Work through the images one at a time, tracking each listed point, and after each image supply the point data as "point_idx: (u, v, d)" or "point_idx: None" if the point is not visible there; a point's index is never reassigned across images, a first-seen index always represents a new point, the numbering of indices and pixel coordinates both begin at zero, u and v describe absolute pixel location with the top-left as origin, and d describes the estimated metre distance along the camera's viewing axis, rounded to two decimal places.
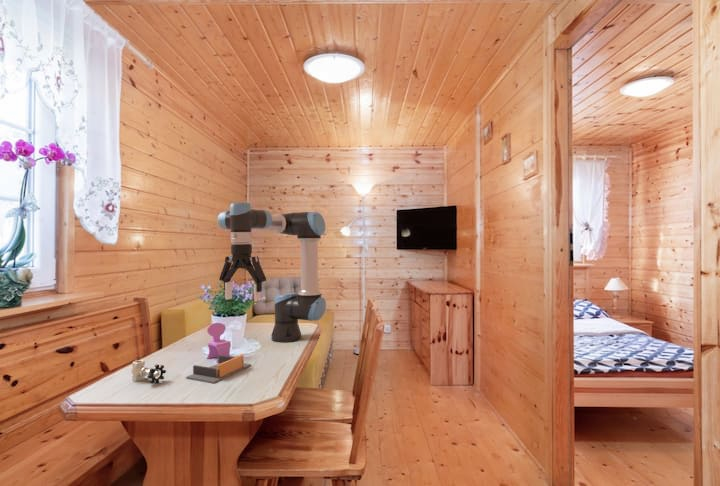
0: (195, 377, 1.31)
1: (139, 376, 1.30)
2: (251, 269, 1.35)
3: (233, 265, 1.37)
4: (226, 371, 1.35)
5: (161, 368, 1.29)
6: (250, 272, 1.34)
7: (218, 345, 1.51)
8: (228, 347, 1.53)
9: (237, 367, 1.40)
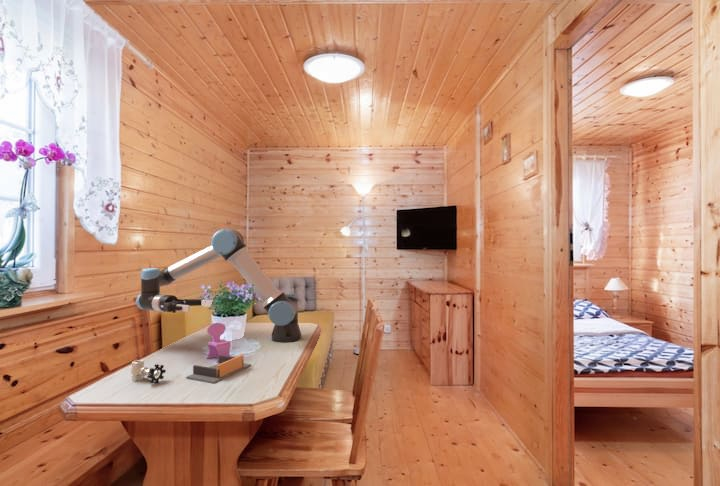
0: (195, 377, 1.31)
1: (139, 376, 1.30)
2: None
3: None
4: (226, 371, 1.35)
5: (161, 368, 1.29)
6: None
7: (218, 345, 1.51)
8: (228, 347, 1.53)
9: (237, 367, 1.40)
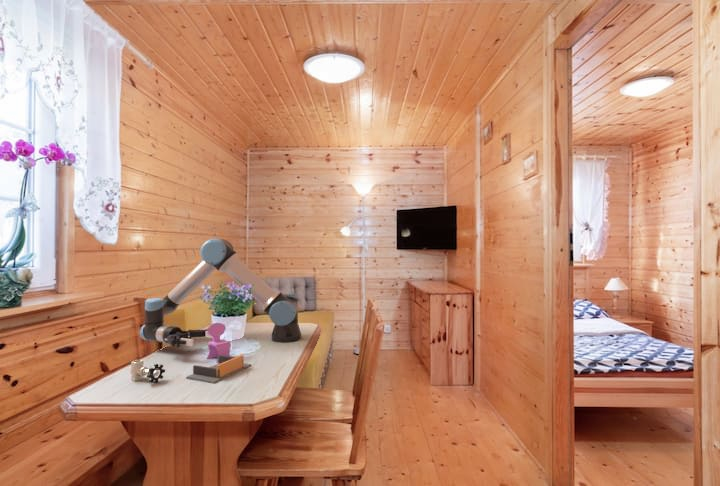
0: (195, 377, 1.31)
1: (138, 376, 1.31)
2: None
3: (187, 338, 1.64)
4: (226, 371, 1.35)
5: (160, 367, 1.30)
6: None
7: (218, 345, 1.51)
8: (228, 347, 1.53)
9: (237, 367, 1.40)
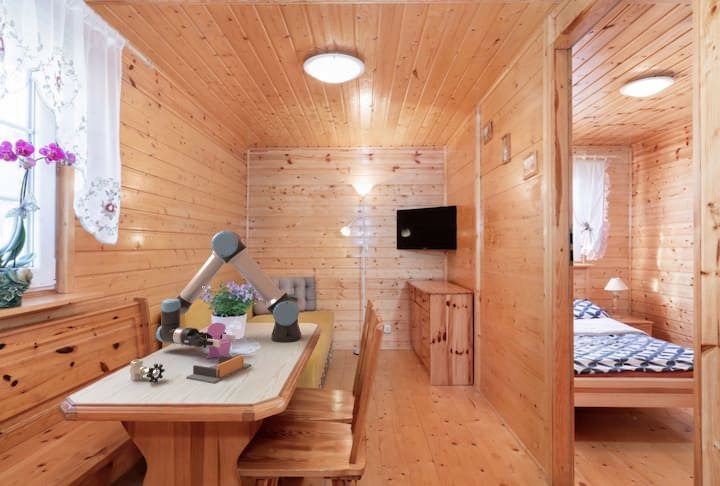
0: (195, 377, 1.31)
1: (137, 375, 1.31)
2: None
3: None
4: (226, 371, 1.35)
5: (160, 367, 1.30)
6: None
7: None
8: (228, 347, 1.54)
9: (237, 367, 1.40)
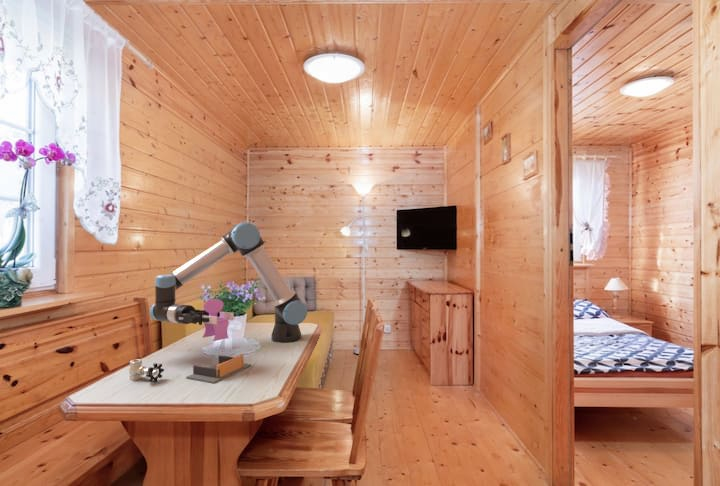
0: (195, 377, 1.31)
1: (137, 375, 1.31)
2: None
3: None
4: (226, 371, 1.35)
5: (159, 367, 1.30)
6: None
7: None
8: (226, 325, 1.41)
9: (237, 367, 1.40)
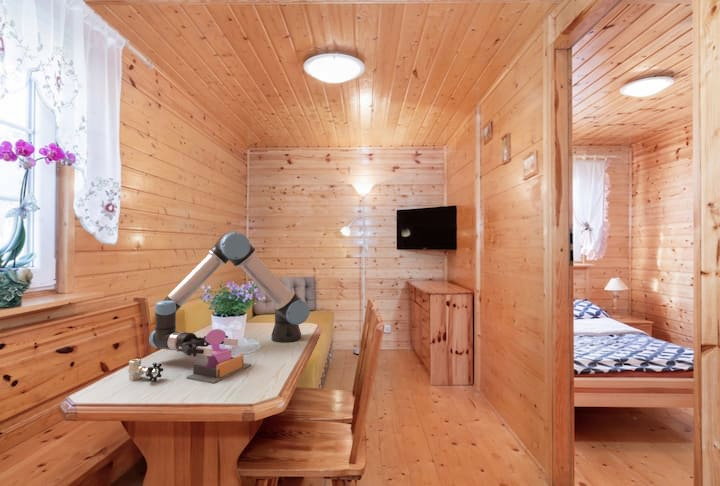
0: (195, 377, 1.31)
1: (136, 375, 1.32)
2: None
3: (203, 346, 1.45)
4: (226, 371, 1.35)
5: (159, 366, 1.31)
6: None
7: (218, 354, 1.35)
8: (229, 356, 1.38)
9: (237, 367, 1.40)
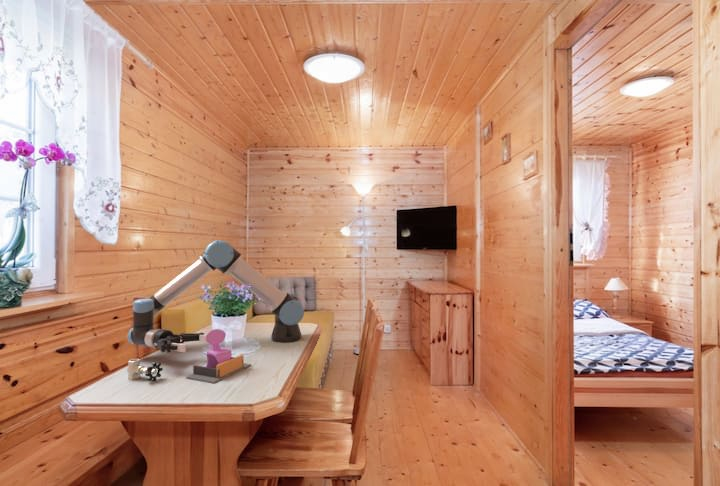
0: (195, 377, 1.31)
1: (135, 374, 1.32)
2: None
3: (179, 343, 1.50)
4: (226, 371, 1.35)
5: (158, 366, 1.31)
6: None
7: (218, 354, 1.35)
8: (229, 356, 1.38)
9: (237, 367, 1.40)
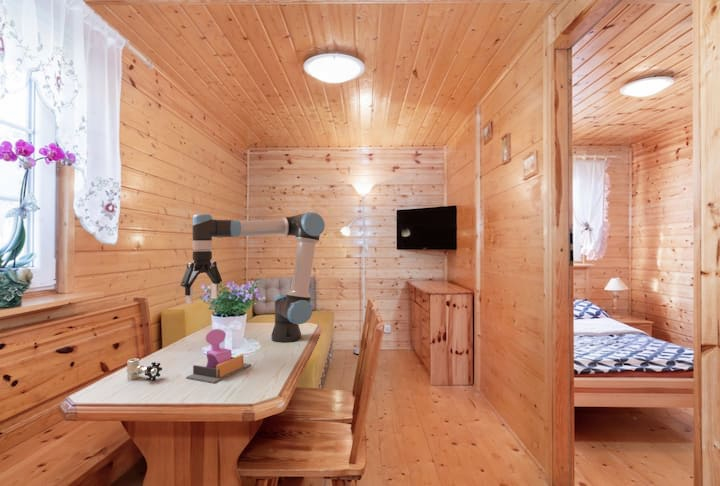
0: (195, 377, 1.31)
1: (134, 374, 1.32)
2: (192, 274, 1.50)
3: None
4: (226, 371, 1.35)
5: (157, 365, 1.32)
6: None
7: (218, 354, 1.35)
8: (229, 356, 1.38)
9: (237, 367, 1.40)
